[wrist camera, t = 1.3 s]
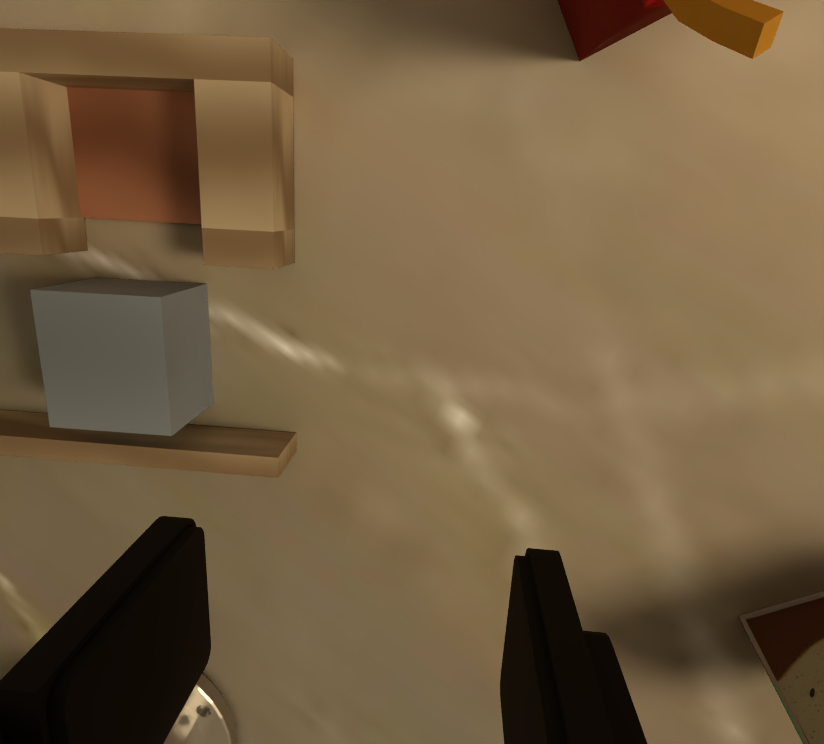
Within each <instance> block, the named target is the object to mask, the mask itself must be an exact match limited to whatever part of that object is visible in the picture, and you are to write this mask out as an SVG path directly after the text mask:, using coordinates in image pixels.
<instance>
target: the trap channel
mask: <svg viewBox="0 0 824 744" xmlns="http://www.w3.org/2000/svg"><path fill="white" fill-rule="evenodd" d="M84 218H95V219H113V220H131V221H149V222H168V223H186V224H202V241H203V260H204V265H212V266H229V267H245V268H262V269H277V268H280V267H283V266H286V265H289V264H292V263H295V241H294V125H293V58H292V57H291V56H290V55H289V54H288V53H287V52H286V51H285V50H283V49H282V48H281V47H280V46H279V45H278V44H277V43H276V42H275V41H274V40H272V39H271V38H270V37H243V36H213V35H184V34H154V33H125V32H95V31H66V30H36V29H7V28H0V253H11V254H27V255H51V254H60V253H69V252H78V251H87V242H86V232H85V223H84ZM295 452H296V433H293V432H280V431H267V430H254V429H241V428H228V427H215V426H202V425H190V424H186V425H185V426H184V427H183V428H181V429H180V430H179V431H177V432H176V433H175V434H174V435H172V436H165V435H151V434H138V433H124V432H111V431H97V430H84V429H70V428H57V427H50V425H49V418H48V413H35V412H22V411H9V410H0V455H9V456H21V457H34V458H46V459H58V460H70V461H82V462H94V463H106V464H118V465H130V466H142V467H154V468H167V469H179V470H191V471H203V472H215V473H227V474H239V475H251V476H263V477H275V478H279V476H280V475H281V473H282V472H283V470H284V469H285V467H286V466H287V464H288V463H289V461H290V460H291V458H292V457H293V455H294V454H295Z"/></svg>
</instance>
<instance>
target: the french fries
mask: <svg viewBox="0 0 824 744" xmlns="http://www.w3.org/2000/svg"><path fill="white" fill-rule="evenodd" d="M558 3H559V6H560V8H561V11H562V14H563V17H564V19H565V22H566V25H567V27H568V30H569V33H570V36H571V38H572V41H573V44H574V46H575V49H576V52H577V55H578V57H579V60H580V61H581V60H583V59H585V58H587V57H589V56H591V55H592V54H594V53H596V52H598V51H600V50H602V49H604V48H606V47H608V46H610V45H612V44H613V43H615V42H617V41H619V40H621V39H623V38H625V37H627V36H629V35H631V34H633V33H635V32H636V31H638V30H640V29H642V28H644V27H646V26H648V25H650V24H652V23H654V22H656V21H657V20H659V19H661V18H663V17H665V16H667V15H669V14H671V13H673V14H674V16H675V17H676V18H677V20H678V21H679V22H681V23H683V24H685V25H686V26H688V27H690V28H691V29H693V30H695V31H696V32H698V33H700V34H702V35H703V36H705V37H707V38H708V39H710V40H712V41H714V42H716V43H718V44H720V45H723V46H725V47H727V48H729V49H731V50H734V51H736V52H738V53H740V54H743V55H745V56H747V57H749V58H752V59H753V58H755V57H756V56H758V55H759V54H761V53H763V52H764V51H766V50H767V49H769V48H770V47H771V45H772V42H773V40H774V37H775V34H776V31H777V29H778V26H779V23H780V20H781V17H782V15H783V11H780V10H778V9H775V8H772V7H769V6H767V5H764V4H761V3H758V2H755V1H753V0H558Z"/></svg>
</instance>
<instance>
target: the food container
mask: <svg viewBox="0 0 824 744" xmlns="http://www.w3.org/2000/svg"><path fill="white" fill-rule="evenodd" d="M739 618H740V620H741V622H742V624H743V626H744V629H745V631H746V633H747V635H748V637H749V638H750V640H751V642H752V644H753V646H754V648H755V650H756V652H757V654H758V656H759V658H760V660H761V662H762V664H763V666H764V668H765V670H766V672H767V674H768V676H769V678H770V680H771V682H772V684H773V686H774V687H775V689H776V691H777V693H778V695H779V697H780V699H781V701H782V703H783V705H784V707H785V709H786V711H787V713H788V715H789V717H790V719H791V721H792V723H793V725H794V727H795V729H796V731H797V733H798V735H799V737H800V738H801V740H802V742H803V744H824V591H821V592H818V593H814V594H811V595H808V596H804V597H801V598H797V599H794V600H791V601H787V602H784V603H780V604H777V605H774V606H770V607H767V608H763V609H760V610H757V611H753V612H750V613H746V614H743V615H740V616H739Z"/></svg>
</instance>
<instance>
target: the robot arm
mask: <svg viewBox="0 0 824 744" xmlns="http://www.w3.org/2000/svg"><path fill="white" fill-rule="evenodd" d="M210 650H211V637H210V621H209V605H208V588H207V572H206V556H205V539H204V531H203V529H202V528H201V527H196V524H195V522H194V520H193V519H191V518H179V517H168V516H161V517H159V518H158V519H157V520H156V521H155V522H154V523H153V524H152V525H151V526H150V527H149V528H148V529H147V530H146V531H145V532H144V533H143V534H142V535H141V536H140V537H139V538H138V539H137V540H136V541H135V542H134V543H133V544H132V545H131V546H130V547H129V548H128V550H127V551H126V552H125V553H124V554H123V555H122V556H121V557H120V558H119V559H118V560H117V561H116V562H115V563H114V564H113V565H112V566H111V567H110V568H109V569H108V570H107V571H106V572H105V573H104V574H103V575H102V576H101V577H100V578H99V579H98V580H97V581H96V582H95V584H94V585H93V586H92V587H91V588H90V589H89V590H88V591H87V592H86V593H85V594H84V595H83V596H82V597H81V598H80V599H79V600H78V601H77V602H76V603H75V604H74V605H73V606H72V607H71V608H70V609H69V610H68V611H67V612H66V613H65V614H64V615H63V617H62V618H61V619H60V620H59V621H58V622H57V623H56V624H55V625H54V626H53V627H52V628H51V629H50V630H49V631H48V632H47V633H46V634H45V635H44V636H43V637H42V638H41V639H40V640H39V641H38V642H37V643H36V644H35V645H34V646H33V647H32V648H31V649H30V651H29V652H28V653H27V654H26V655H25V656H24V657H23V658H22V659H21V660H20V661H19V662H18V663H17V664H16V665H15V666H14V667H13V668H12V669H11V670H10V671H9V672H8V673H7V674H6V675H5V676H4V677H3V678H2V679H1V680H0V744H237V730H236V726H235V722H234V719H233V715H232V712H231V711H230V709H229V707H228V705H227V703H226V701H225V699H224V697H223V696H222V695H221V693H220V692H219V691H218V690H217V688H216V687H215V686H214V684H213V683H212V682H211V681H210V680H209V679H208V678H207V677H206V676H204V675H203V674H202V673H203V671H204V669H205V667H206V665H207V662H208V660H209V656H210ZM500 697H501V709H502V721H503V733H504V744H647V742H646V739H645V736H644V733H643V730H642V727H641V725H640V722H639V719H638V716H637V713H636V710H635V708H634V705H633V702H632V699H631V696H630V693H629V691H628V688H627V685H626V682H625V679H624V676H623V674H622V671H621V668H620V665H619V662H618V660H617V657H616V654H615V651H614V648H613V645H612V643H611V641H610V638H609V636H608V635H607V634H606V633H601V632H590V631H583V630H582V627H581V623H580V620H579V617H578V613H577V610H576V606H575V603H574V600H573V596H572V593H571V589H570V586H569V583H568V579H567V576H566V572H565V569H564V566H563V562H562V559H561V556H560V553H559V551H554V550H543V549H531V548H528V549H527V550H526V554H525V556H517V555H516V556H515V559H514V565H513V574H512V582H511V591H510V600H509V608H508V617H507V625H506V634H505V643H504V651H503V660H502V668H501V679H500Z"/></svg>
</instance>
